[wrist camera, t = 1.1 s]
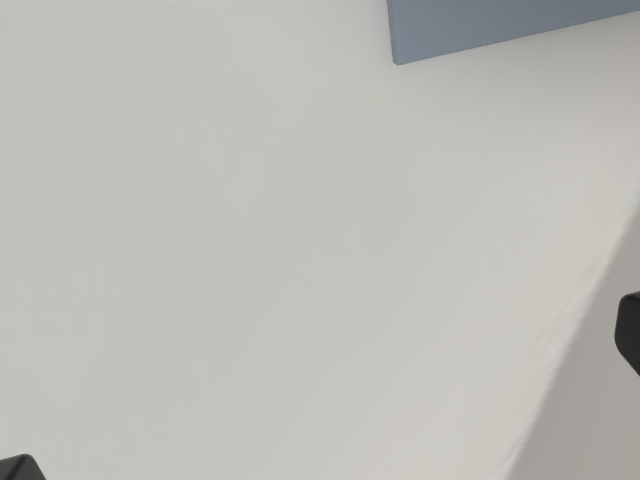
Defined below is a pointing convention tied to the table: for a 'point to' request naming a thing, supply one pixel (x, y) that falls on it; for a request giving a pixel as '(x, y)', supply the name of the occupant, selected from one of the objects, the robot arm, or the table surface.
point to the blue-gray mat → (484, 22)
